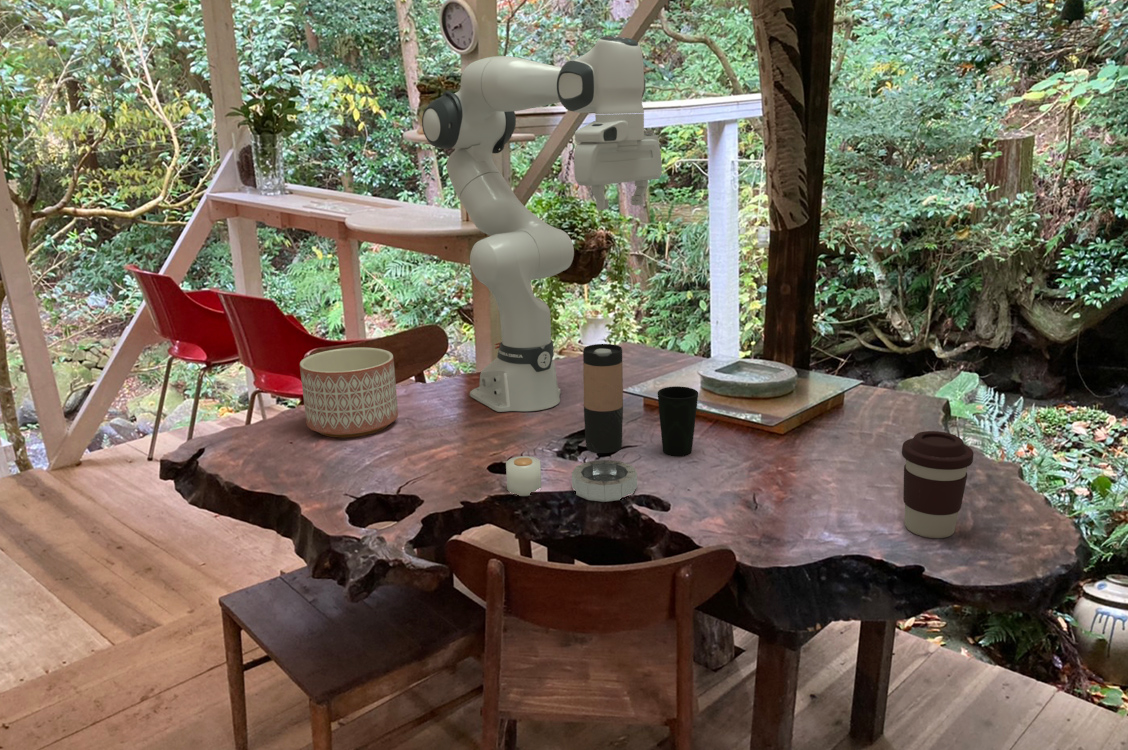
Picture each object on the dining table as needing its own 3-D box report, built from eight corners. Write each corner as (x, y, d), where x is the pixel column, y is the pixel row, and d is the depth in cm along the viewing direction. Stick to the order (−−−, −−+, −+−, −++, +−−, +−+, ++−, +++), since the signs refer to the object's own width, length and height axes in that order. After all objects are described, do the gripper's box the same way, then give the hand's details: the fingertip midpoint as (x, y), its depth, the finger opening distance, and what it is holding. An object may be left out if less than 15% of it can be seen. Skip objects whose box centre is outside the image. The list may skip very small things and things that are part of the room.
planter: (369, 445, 177) (362, 374, 172) (288, 436, 183) (280, 368, 178) (414, 414, 194) (409, 350, 190) (339, 407, 200) (333, 345, 196)
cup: (695, 459, 165) (697, 399, 161) (655, 457, 166) (655, 397, 163) (698, 445, 172) (699, 386, 168) (659, 443, 173) (659, 385, 170)
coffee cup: (893, 511, 142) (901, 424, 137) (959, 518, 139) (970, 429, 135) (897, 539, 133) (905, 447, 128) (968, 547, 130) (979, 453, 126)
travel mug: (602, 437, 178) (601, 341, 172) (631, 446, 172) (631, 348, 167) (576, 447, 172) (574, 349, 167) (604, 457, 167) (603, 356, 161)
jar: (500, 489, 154) (498, 461, 153) (526, 479, 158) (525, 452, 157) (522, 499, 150) (521, 470, 148) (548, 488, 154) (547, 460, 152)
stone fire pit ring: (560, 488, 154) (559, 472, 153) (604, 470, 161) (604, 455, 160) (604, 507, 146) (604, 490, 145) (649, 487, 153) (649, 471, 152)
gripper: (644, 129, 169) (644, 201, 173) (567, 132, 156) (569, 211, 159) (669, 128, 164) (669, 203, 168) (593, 132, 151) (594, 213, 155)
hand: (620, 207), depth 164 cm, fingers open, 8 cm apart
